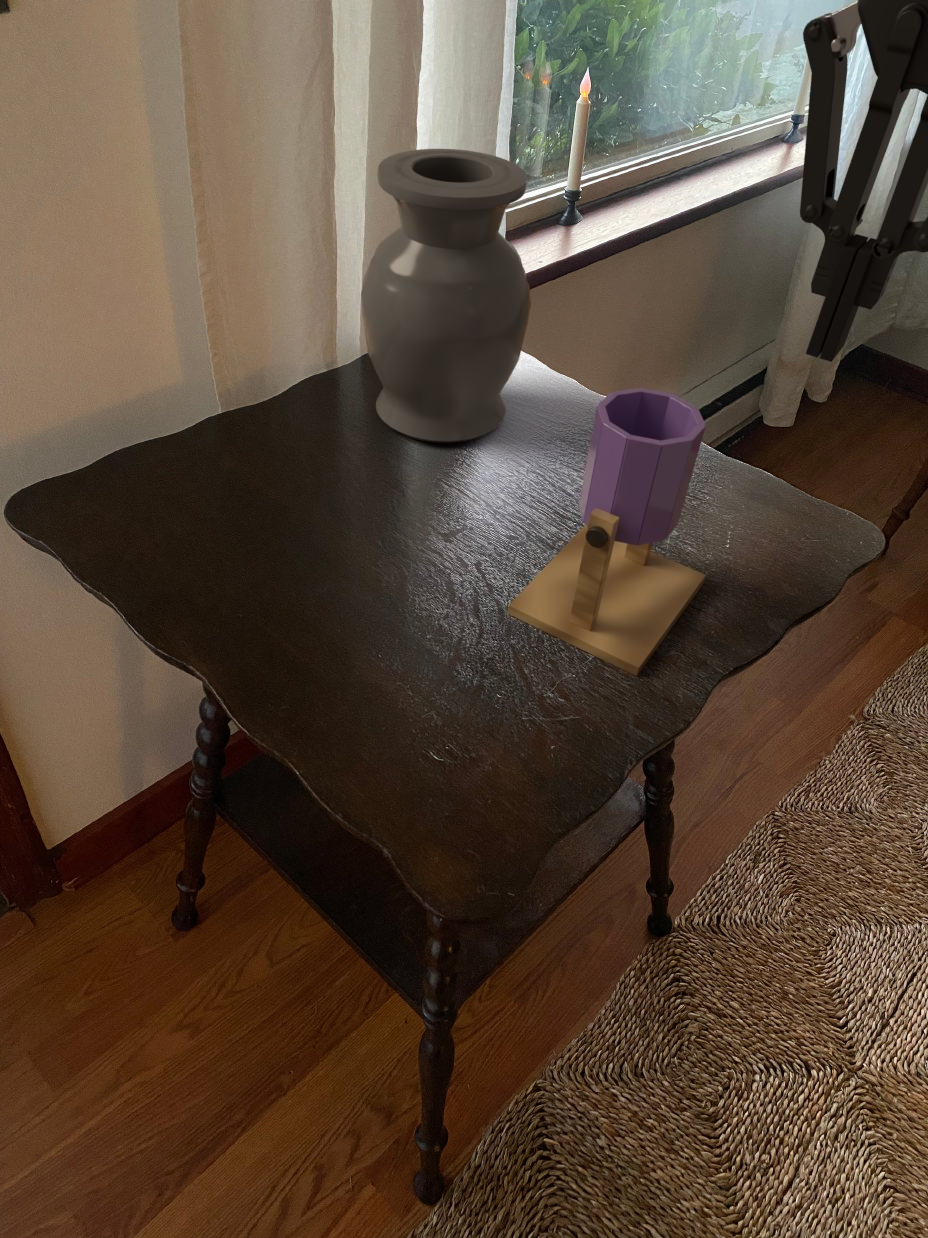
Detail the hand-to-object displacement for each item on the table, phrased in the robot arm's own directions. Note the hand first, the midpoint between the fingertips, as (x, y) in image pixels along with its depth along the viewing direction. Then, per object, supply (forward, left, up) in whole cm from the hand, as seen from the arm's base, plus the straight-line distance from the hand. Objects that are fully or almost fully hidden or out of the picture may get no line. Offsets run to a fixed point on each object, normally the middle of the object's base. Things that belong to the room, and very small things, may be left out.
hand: (824, 349), depth 56 cm
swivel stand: (+10, 0, -26) cm, 28 cm away
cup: (+10, 0, -17) cm, 20 cm away
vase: (+38, -16, -27) cm, 49 cm away
